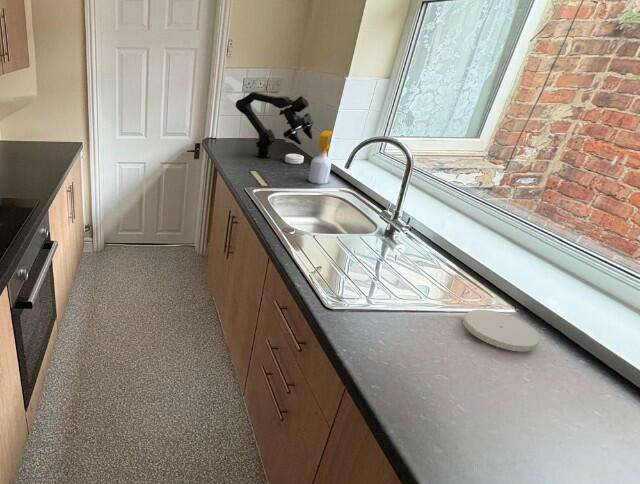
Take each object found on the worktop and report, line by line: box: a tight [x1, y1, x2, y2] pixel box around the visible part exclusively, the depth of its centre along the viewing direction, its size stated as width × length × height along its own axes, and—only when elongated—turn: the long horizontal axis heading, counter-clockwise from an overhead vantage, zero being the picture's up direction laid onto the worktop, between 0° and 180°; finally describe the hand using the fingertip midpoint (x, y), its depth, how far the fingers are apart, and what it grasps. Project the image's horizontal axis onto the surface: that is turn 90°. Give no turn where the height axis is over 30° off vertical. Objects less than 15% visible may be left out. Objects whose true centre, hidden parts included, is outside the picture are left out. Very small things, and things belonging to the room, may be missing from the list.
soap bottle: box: [307, 130, 334, 185], centre depth 201 cm, size 9×9×25 cm
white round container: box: [284, 153, 305, 165], centre depth 237 cm, size 10×10×4 cm
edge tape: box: [249, 170, 269, 187], centre depth 212 cm, size 24×3×1 cm, turn 178°
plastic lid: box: [462, 309, 541, 353], centre depth 100 cm, size 14×14×2 cm
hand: (306, 141), depth 229 cm, fingers open, 9 cm apart
